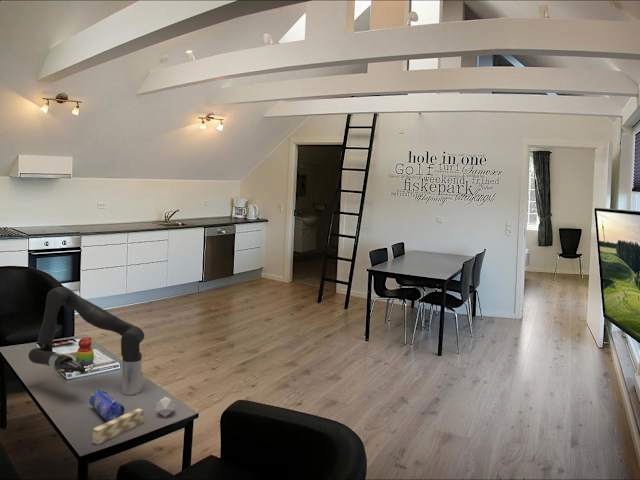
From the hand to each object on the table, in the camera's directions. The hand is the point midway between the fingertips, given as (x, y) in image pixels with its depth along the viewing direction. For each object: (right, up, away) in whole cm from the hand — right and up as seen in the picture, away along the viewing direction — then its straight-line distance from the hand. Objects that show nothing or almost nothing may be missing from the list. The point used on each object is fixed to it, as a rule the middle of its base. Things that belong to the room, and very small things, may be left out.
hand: (84, 370), depth 243 cm
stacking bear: (-21, -11, +47) cm, 53 cm away
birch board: (+25, -22, -20) cm, 39 cm away
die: (+39, -20, -2) cm, 44 cm away
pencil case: (+13, -19, -5) cm, 24 cm away
